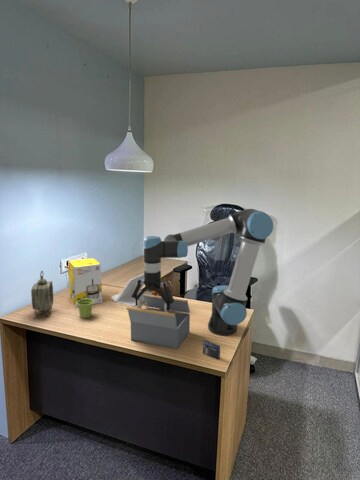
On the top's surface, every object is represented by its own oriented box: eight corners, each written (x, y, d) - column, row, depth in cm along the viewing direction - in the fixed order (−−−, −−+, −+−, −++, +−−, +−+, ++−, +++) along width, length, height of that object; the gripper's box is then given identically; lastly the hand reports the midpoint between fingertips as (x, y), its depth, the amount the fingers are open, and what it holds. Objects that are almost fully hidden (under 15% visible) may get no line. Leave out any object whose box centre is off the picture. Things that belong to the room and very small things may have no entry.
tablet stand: (155, 294, 224) (155, 269, 220) (134, 306, 202) (133, 280, 199) (134, 289, 232) (133, 266, 229) (110, 301, 211) (109, 275, 207)
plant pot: (97, 314, 190) (97, 300, 188) (86, 320, 182) (85, 306, 180) (85, 311, 194) (85, 297, 192) (73, 317, 186) (72, 302, 184)
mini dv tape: (202, 353, 150) (202, 341, 149) (204, 352, 151) (204, 340, 150) (218, 359, 145) (218, 347, 144) (219, 358, 146) (220, 345, 145)
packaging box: (75, 307, 200) (73, 267, 195) (70, 298, 214) (68, 261, 209) (102, 302, 208) (100, 264, 203) (95, 294, 222) (93, 258, 217)
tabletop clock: (50, 317, 185) (47, 274, 180) (32, 318, 183) (29, 275, 179) (54, 307, 199) (51, 267, 194) (38, 308, 197) (35, 268, 192)
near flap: (175, 313, 147) (174, 315, 146) (177, 328, 151) (176, 330, 150) (127, 306, 155) (126, 307, 154) (131, 320, 159) (129, 322, 158)
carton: (189, 332, 170) (189, 313, 168) (177, 349, 153) (177, 329, 151) (146, 324, 178) (146, 307, 176) (131, 340, 161) (130, 321, 159)
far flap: (189, 313, 168) (190, 311, 169) (186, 302, 162) (187, 300, 163) (147, 306, 176) (147, 304, 176) (143, 295, 170) (144, 294, 171)
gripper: (181, 271, 149) (180, 315, 153) (131, 265, 157) (132, 307, 161) (175, 276, 142) (175, 322, 146) (123, 269, 150) (124, 313, 155)
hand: (152, 314), depth 154 cm, fingers open, 13 cm apart
